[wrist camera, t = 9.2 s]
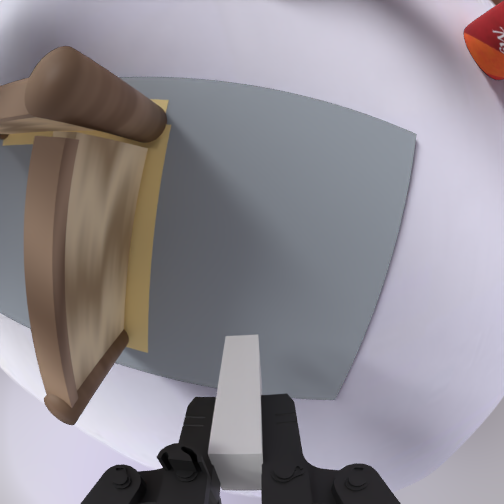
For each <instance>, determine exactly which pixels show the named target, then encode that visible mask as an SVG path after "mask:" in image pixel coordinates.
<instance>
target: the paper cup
mask: <svg viewBox="0 0 504 504" xmlns="http://www.w3.org/2000/svg"><path fill="white" fill-rule="evenodd" d="M464 39H465V43H466V45H467V48H468V50H469V52H470V54H471V55H472V57H473V59H474V60H475V62H476V63H477V64H478V66H479V67H480V68H481V69H482V70H483V71H484V72H485V73H486V74H487V75H488V76H489V77H491V78H493V79H495V80H502V79H504V1H502V2H501V3H499V4H498V5H496V6H495V7H493V8H492V9H490V10H489V11H487V12H486V13H484V14H483V15H481V16H480V17H479V18H477V19H476V20H474V21H473V22H472V23H470V24H469V25H468V26H467V27H466V28H465V29H464Z"/></svg>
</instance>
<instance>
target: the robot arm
mask: <svg viewBox="0 0 504 504" xmlns="http://www.w3.org/2000/svg"><path fill="white" fill-rule="evenodd" d="M157 458H158V460H159V462H160V463H161V465H162V467H163V468H161V469H157V470H151V471H141V472H137V471H136V470H135V469H134V468H132V467H131V466H127V465H115V466H113V467H110V468H109V469H108V470H107V471H106V472H105V473H104V474H103V475H102V477H101V478H100V479H99V481H98V482H97V483H96V485H95V486H94V487H93V488H92V490H91V491H90V492H89V494H88V495H87V496H86V497H85V499H84V500H83V501H82V503H81V504H221V498H220V496H219V495H220V486H221V488H222V490H262V504H400V502H399V501H398V500H397V498H396V497H395V496H394V494H393V493H392V492H391V490H390V489H389V488H388V486H387V485H386V483H385V482H384V481H383V479H382V478H381V477H380V475H379V474H378V473H377V471H376V470H375V469H373V468H372V467H371V466H368V465H366V464H352V465H348V466H346V467H344V468H342V469H341V470H328V469H321V468H317V467H315V466H312V465H311V464H310V463H308V462H307V461H306V459H305V458H304V456H303V453H302V447H301V441H300V435H299V429H298V423H297V416H296V410H295V404H294V401H293V400H292V399H291V398H290V396H289V395H288V394H287V393H285V394H272V395H262V379H261V365H260V351H259V337H258V334H257V335H239V336H226V338H225V344H224V350H223V356H222V363H221V369H220V375H219V382H218V388H217V395H216V397H195V398H194V399H193V400H192V402H191V403H190V404H189V405H188V408H187V412H186V418H185V420H184V426H183V427H182V431H181V435H180V440H179V443H175V444H172V445H169V446H166V447H165V448H164V449H162V450H161V451H160V452H159V454H158V456H157Z"/></svg>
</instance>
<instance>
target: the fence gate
mask: <svg viewBox="0 0 504 504" xmlns="http://www.w3.org/2000/svg"><path fill="white" fill-rule="evenodd" d="M147 151H148V148H144V147H140V146H136V145H132V144H128V143H124V142H120V141H115V140H111V139H107V138H102V137H97V136H93V135H88V134H83V133H78V132H66V131H53V136H52V137H48V136H35V138H34V142H33V148H32V153H31V159H30V165H29V172H28V180H27V188H26V199H25V213H24V272H25V286H26V297H27V305H28V313H29V320H30V326H31V332H32V338H33V343H34V348H35V352H36V357H37V361H38V365H39V369H40V373H41V377H42V380H43V384H44V387H45V390H46V394H47V395H46V396H45V398H44V402H45V405H46V407H47V408H48V410H49V411H50V412H51V413H52V414H53V415H54V416H55V417H56V418H58V419H59V420H60V421H62V422H64V423H66V424H69V425H74V424H75V423H76V422H77V420H78V418H79V417H80V415H81V414H82V412H83V410H84V409H85V407H86V406H87V404H88V403H89V401H90V399H91V398H92V396H93V395H94V393H95V392H96V390H97V389H98V387H99V386H100V384H101V383H102V381H103V380H104V378H105V377H106V375H107V374H108V372H109V371H110V369H111V368H112V366H113V365H114V363H115V362H116V360H117V359H118V357H119V356H120V354H121V353H122V351H123V350H124V349H125V347H126V346H127V344H128V342H129V337H128V334H127V332H126V331H125V330H124V314H125V296H126V283H127V271H128V261H129V252H130V244H131V237H132V229H133V223H134V216H135V210H136V204H137V198H138V193H139V188H140V183H141V178H142V173H143V168H144V164H145V159H146V155H147Z"/></svg>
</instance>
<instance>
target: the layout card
mask: <svg viewBox="0 0 504 504" xmlns="http://www.w3.org/2000/svg"><path fill="white" fill-rule="evenodd" d="M120 79H122V80H123V81H125V82H126V83H127V84H129V85H130V86H132V87H133V88H135V89H136V90H138V91H139V92H140V93H142V94H143V95H145V96H146V97H147V98H149V99H150V100H152V101H153V102H154V103H156V104H157V105H159V106H160V107H161V108H162V109H163V110H164V112H165V113H166V116H167V124H166V127H165V129H164V131H163V133H162V134H161V135H160V136H159V137H158V138H157V139H156V140H154V141H151V142H148V143H142V142H138V141H134V140H131V139H127V138H124V137H120V136H116V135H112V134H109V133H105V132H101V131H66V132H78V133H83V134H88V135H93V136H97V137H102V138H107V139H111V140H115V141H120V142H124V143H128V144H132V145H136V146H140V147H144V148H148V151H147V155H146V159H145V164H144V168H143V173H142V178H141V183H140V188H139V193H138V198H137V204H136V210H135V216H134V223H133V229H132V237H131V244H130V252H129V261H128V271H127V283H126V296H125V314H124V330H125V331H126V332H127V334H128V337H129V342H128V344H127V346H126V347H125V349H124V350H123V351H122V353H121V354H120V356H119V357H118V359H117V360H116V362H115V363H117V364H121V365H124V366H127V367H130V368H133V369H137V370H140V371H144V372H147V373H151V374H155V375H159V376H162V377H166V378H171V379H175V380H179V381H183V382H188V383H193V384H197V385H202V386H207V387H213V388H218V382H219V375H220V369H221V363H222V356H223V350H224V344H225V338H226V336H239V335H257V334H258V337H259V351H260V365H261V379H262V395H272V394H285V393H287V394H288V395H289V396H290V398H299V399H316V400H335V399H336V397H337V395H338V393H339V391H340V389H341V387H342V385H343V383H344V381H345V379H346V377H347V375H348V372H349V370H350V368H351V366H352V364H353V361H354V359H355V357H356V355H357V352H358V350H359V348H360V345H361V343H362V340H363V338H364V336H365V333H366V331H367V328H368V325H369V323H370V320H371V318H372V315H373V312H374V310H375V307H376V304H377V301H378V298H379V295H380V293H381V290H382V287H383V284H384V280H385V277H386V274H387V271H388V268H389V264H390V261H391V258H392V254H393V251H394V247H395V243H396V239H397V236H398V232H399V228H400V224H401V220H402V215H403V211H404V206H405V202H406V197H407V192H408V187H409V181H410V176H411V170H412V164H413V157H414V150H415V143H416V135H417V134H415V133H413V132H410V131H408V130H406V129H403V128H401V127H398V126H396V125H393V124H391V123H388V122H386V121H383V120H381V119H378V118H375V117H372V116H370V115H367V114H364V113H361V112H358V111H355V110H352V109H349V108H346V107H342V106H339V105H336V104H332V103H329V102H325V101H322V100H318V99H314V98H310V97H306V96H302V95H298V94H294V93H289V92H285V91H280V90H275V89H270V88H264V87H258V86H253V85H246V84H239V83H232V82H224V81H215V80H205V79H192V78H174V77H122V78H120ZM35 136H48V137H52V136H53V131H46V132H30V133H18V134H9V135H8V137H7V138H6V139H4V140H0V313H1V314H3V315H5V316H7V317H9V318H11V319H12V320H14V321H16V322H18V323H20V324H22V325H24V326H26V327H28V328H30V329H31V326H30V320H29V313H28V305H27V297H26V286H25V272H24V213H25V199H26V188H27V180H28V172H29V165H30V159H31V153H32V148H33V142H34V138H35Z"/></svg>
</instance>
